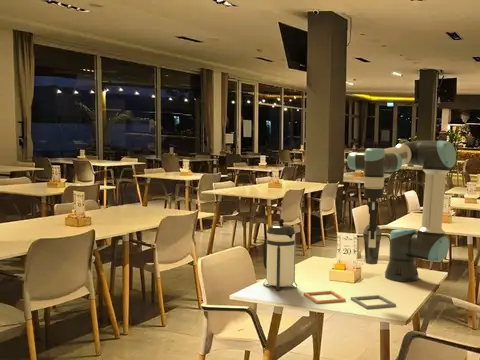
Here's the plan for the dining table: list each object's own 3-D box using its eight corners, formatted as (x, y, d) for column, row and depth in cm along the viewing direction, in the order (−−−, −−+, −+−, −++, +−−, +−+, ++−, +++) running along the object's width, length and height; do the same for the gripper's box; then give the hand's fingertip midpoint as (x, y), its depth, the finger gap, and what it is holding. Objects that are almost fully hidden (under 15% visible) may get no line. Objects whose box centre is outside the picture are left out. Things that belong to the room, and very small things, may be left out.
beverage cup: (383, 265, 219) (385, 214, 218) (365, 265, 219) (366, 214, 217) (377, 261, 226) (378, 211, 225) (359, 261, 226) (361, 211, 224)
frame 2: (378, 297, 231) (378, 295, 231) (395, 306, 219) (395, 303, 219) (350, 299, 228) (350, 297, 228) (366, 308, 216) (366, 306, 215)
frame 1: (331, 292, 237) (331, 290, 237) (345, 301, 225) (345, 298, 225) (303, 294, 234) (303, 292, 234) (316, 303, 222) (316, 301, 221)
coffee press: (300, 283, 252) (302, 217, 250) (293, 292, 237) (294, 222, 235) (263, 280, 257) (264, 215, 255) (253, 288, 242) (254, 219, 240)
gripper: (364, 185, 231) (362, 240, 233) (363, 189, 211) (361, 249, 213) (382, 185, 229) (381, 241, 231) (384, 190, 210) (382, 251, 211)
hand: (371, 245), depth 222 cm, fingers closed on beverage cup, 7 cm apart
